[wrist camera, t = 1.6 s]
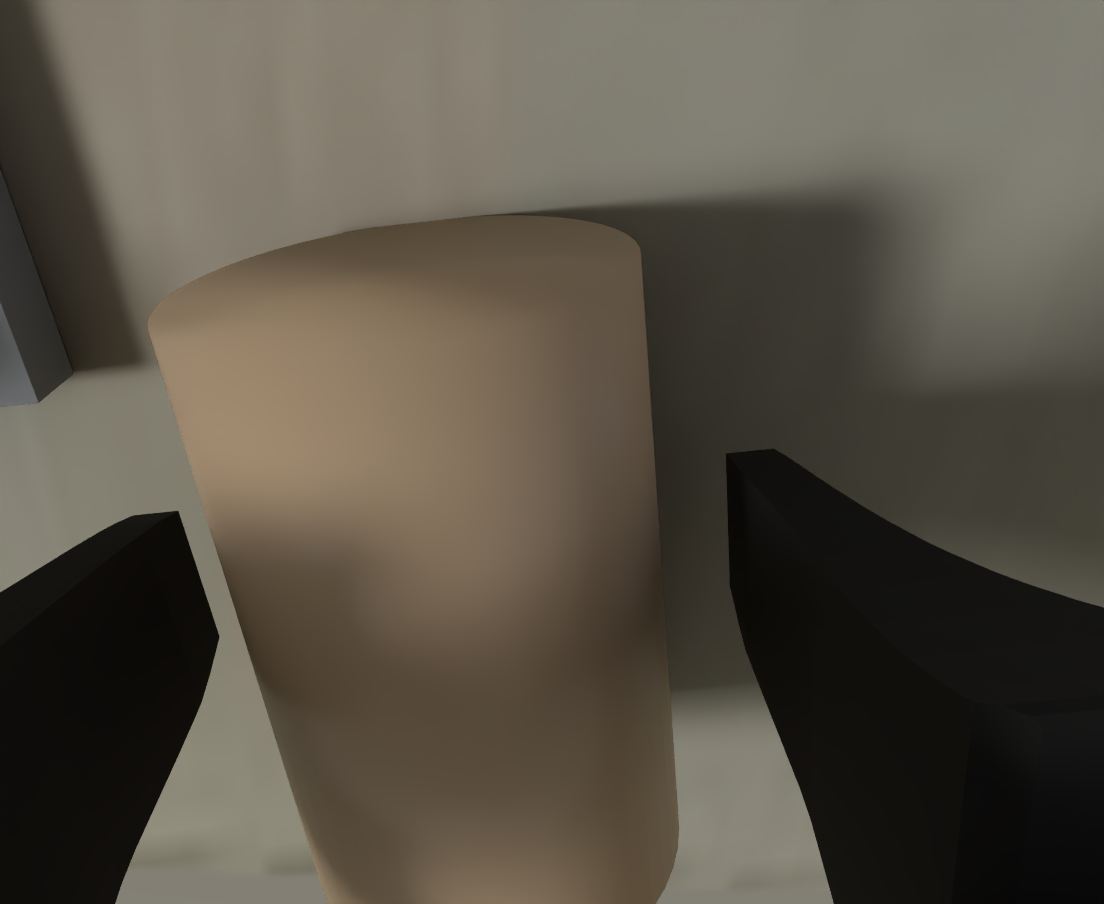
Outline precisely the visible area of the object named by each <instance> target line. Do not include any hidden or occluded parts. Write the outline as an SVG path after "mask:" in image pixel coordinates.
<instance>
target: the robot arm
mask: <svg viewBox="0 0 1104 904" xmlns="http://www.w3.org/2000/svg"><path fill="white" fill-rule="evenodd" d="M726 472H727V504H728V537H729V570H730V588H731V592H732V597H733V601H734V605H735V609H736V614H737V618H738V622H739V626H740V630H741V634H742V638H743V642H744V646H745V649H746V652H747V655H748V657H749V660H750V663H751V665H752V668H753V670H754V673H755V676H756V678H757V681H758V683H759V686H760V688H761V691H762V694H763V696H764V699H765V701H766V704H767V706H768V709H769V711H770V714H771V716H772V719H773V721H774V724H775V726H776V729H777V731H778V734H779V736H780V739H781V741H782V744H783V747H784V749H785V752H786V754H787V757H788V759H789V762H790V764H791V767H792V769H793V772H794V774H795V777H796V779H797V782H798V784H799V787H800V790H801V793H802V796H803V798H804V801H805V804H806V807H807V810H808V813H809V816H810V819H811V822H812V826H813V829H814V833H815V837H816V840H817V844H818V847H819V851H820V855H821V858H822V862H823V866H824V869H825V873H826V877H827V880H828V884H829V887H830V891H831V895H832V899H833V902H834V904H1104V608H1103V607H1099V606H1096V605H1092V604H1089V603H1085V602H1082V601H1078V600H1075V599H1072V598H1069V597H1066V596H1063V595H1060V594H1056V593H1053V592H1050V591H1047V590H1044V589H1041V588H1038V587H1035V586H1032V585H1029V584H1026V583H1023V582H1020V581H1018V580H1015V579H1012V578H1009V577H1007V576H1004V575H1001V574H999V573H996V572H994V571H991V570H989V569H987V568H984V567H982V566H979V565H977V564H975V563H972V562H970V561H968V560H965V559H963V558H961V557H958V556H956V555H954V554H951V553H949V552H947V551H945V550H943V549H941V548H938V547H936V546H934V545H932V544H930V543H928V542H926V541H924V540H922V539H920V538H918V537H917V536H915V535H913V534H911V533H909V532H907V531H905V530H904V529H902V528H900V527H898V526H896V525H894V524H892V523H890V522H889V521H887V520H885V519H883V518H882V517H880V516H878V515H877V514H875V513H873V512H871V511H870V510H868V509H866V508H865V507H863V506H861V505H860V504H858V503H857V502H855V501H853V500H852V499H850V498H849V497H847V496H845V495H844V494H842V493H841V492H839V491H838V490H836V489H835V488H833V487H832V486H830V485H828V484H827V483H825V482H824V481H822V480H821V479H819V478H818V477H816V476H815V475H814V474H812V473H811V472H809V471H808V470H806V469H805V468H803V467H802V466H800V465H799V464H797V463H796V462H794V461H793V460H791V459H790V458H788V457H787V456H785V455H783V454H782V453H780V452H778V451H777V450H775V449H766V450H756V451H747V452H737V453H728V454H726ZM218 641H219V634H218V631H217V628H216V625H215V622H214V619H213V615H212V612H211V609H210V606H209V603H208V600H207V597H206V594H205V591H204V588H203V585H202V582H201V579H200V576H199V573H198V570H197V567H196V564H195V561H194V557H193V554H192V551H191V548H190V545H189V542H188V539H187V536H186V533H185V530H184V527H183V524H182V521H181V518H180V515H179V512H178V511H172V512H163V513H153V514H143V515H134V516H131V517H129V518H126V519H124V520H122V521H120V522H118V523H116V524H114V525H112V526H110V527H108V528H106V529H104V530H102V531H101V532H99V533H97V534H95V535H94V536H92V537H90V538H88V539H87V540H85V541H83V542H82V543H80V544H78V545H77V546H75V547H73V548H72V549H70V550H68V551H67V552H65V553H64V554H62V555H60V556H59V557H57V558H55V559H54V560H52V561H51V562H49V563H47V564H46V565H44V566H42V567H41V568H39V569H38V570H36V571H34V572H33V573H31V574H30V575H28V576H26V577H25V578H23V579H21V580H20V581H18V582H17V583H15V584H13V585H12V586H10V587H8V588H7V589H5V590H4V591H2V592H0V904H115V902H116V899H117V896H118V893H119V890H120V887H121V884H122V881H123V879H124V876H125V874H126V872H127V869H128V867H129V864H130V862H131V859H132V857H133V854H134V852H135V849H136V847H137V845H138V843H139V840H140V838H141V836H142V834H143V832H144V829H145V827H146V825H147V823H148V821H149V819H150V816H151V814H152V812H153V810H154V808H155V805H156V803H157V801H158V799H159V797H160V794H161V792H162V790H163V788H164V786H165V783H166V781H167V779H168V777H169V775H170V773H171V770H172V768H173V766H174V764H175V762H176V759H177V757H178V755H179V753H180V751H181V748H182V746H183V744H184V741H185V739H186V737H187V735H188V732H189V730H190V728H191V726H192V723H193V721H194V719H195V717H196V714H197V712H198V709H199V707H200V705H201V702H202V699H203V696H204V692H205V689H206V686H207V682H208V679H209V676H210V672H211V668H212V664H213V660H214V656H215V653H216V649H217V645H218Z"/></svg>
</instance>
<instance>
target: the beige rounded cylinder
mask: <svg viewBox="0 0 1104 904" xmlns="http://www.w3.org/2000/svg"><path fill="white" fill-rule="evenodd" d="M148 332H149V335H150V338H151V341H152V344H153V348H154V351H155V354H156V357H157V360H158V364H159V367H160V370H161V373H162V376H163V380H164V383H165V386H166V389H167V392H168V396H169V399H170V402H171V405H172V408H173V412H174V415H175V418H176V421H177V424H178V428H179V431H180V434H181V437H182V441H183V444H184V447H185V450H186V453H187V457H188V460H189V463H190V466H191V469H192V473H193V476H194V479H195V482H196V485H197V489H198V492H199V495H200V498H201V501H202V505H203V508H204V511H205V514H206V517H207V521H208V524H209V527H210V530H211V533H212V537H213V540H214V543H215V546H216V550H217V553H218V556H219V559H220V562H221V566H222V569H223V572H224V575H225V578H226V582H227V585H228V588H229V591H230V594H231V598H232V601H233V604H234V607H235V610H236V614H237V617H238V620H239V623H240V626H241V630H242V633H243V636H244V639H245V642H246V646H247V649H248V652H249V655H250V658H251V662H252V665H253V668H254V671H255V675H256V678H257V681H258V684H259V687H260V691H261V694H262V697H263V700H264V703H265V707H266V710H267V713H268V716H269V719H270V723H271V726H272V729H273V732H274V735H275V739H276V742H277V745H278V748H279V751H280V755H281V758H282V761H283V764H284V767H285V771H286V774H287V777H288V780H289V784H290V787H291V790H292V793H293V796H294V800H295V803H296V806H297V809H298V812H299V816H300V819H301V822H302V825H303V828H304V832H305V835H306V838H307V841H308V844H309V848H310V851H311V854H312V857H313V860H314V864H315V867H316V870H317V873H318V876H319V880H320V883H321V886H322V889H323V892H324V896H325V899H326V902H327V904H656V902H657V900H658V899H659V897H660V896H661V894H662V892H663V890H664V889H665V887H666V884H667V882H668V879H669V877H670V874H671V872H672V869H673V866H674V862H675V857H676V853H677V849H678V837H679V820H678V804H677V789H676V774H675V759H674V744H673V729H672V714H671V699H670V684H669V669H668V654H667V639H666V624H665V609H664V593H663V578H662V563H661V548H660V533H659V518H658V503H657V488H656V473H655V458H654V443H653V428H652V413H651V398H650V382H649V367H648V352H647V337H646V322H645V307H644V292H643V277H642V262H641V252H640V247H639V245H638V244H637V243H636V241H635V240H634V239H633V238H631V237H630V236H629V235H627V234H626V233H624V232H622V231H619V230H617V229H615V228H612V227H609V226H606V225H602V224H599V223H594V222H589V221H584V220H578V219H570V218H562V217H550V216H528V215H495V216H472V217H463V218H454V219H445V220H437V221H428V222H419V223H410V224H401V225H392V226H383V227H374V228H369V229H363V230H358V231H352V232H347V233H342V234H337V235H333V236H328V237H323V238H319V239H315V240H311V241H306V242H302V243H298V244H294V245H291V246H287V247H284V248H280V249H276V250H273V251H270V252H266V253H263V254H260V255H257V256H254V257H250V258H248V259H245V260H242V261H239V262H236V263H234V264H231V265H228V266H226V267H223V268H221V269H219V270H216V271H214V272H211V273H209V274H207V275H205V276H203V277H201V278H198V279H196V280H194V281H192V282H190V283H189V284H187V285H185V286H183V287H182V288H180V289H178V290H177V291H175V292H174V293H172V294H171V295H170V296H168V297H167V298H166V299H164V300H163V301H162V302H161V303H160V304H159V305H158V306H157V307H156V308H155V309H154V310H153V312H152V314H151V315H150V317H149V319H148Z"/></svg>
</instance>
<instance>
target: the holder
mask: <svg viewBox="0 0 1104 904" xmlns="http://www.w3.org/2000/svg"><path fill="white" fill-rule="evenodd" d="M72 374H73V371H72V368H71V365H70V362H69V360H68V357H67V354H66V351H65V348H64V346H63V343H62V340H61V337H60V334H59V332H58V329H57V326H56V323H55V320H54V318H53V315H52V312H51V309H50V306H49V304H48V301H47V298H46V295H45V292H44V290H43V287H42V284H41V281H40V278H39V276H38V273H37V270H36V267H35V264H34V262H33V259H32V256H31V253H30V251H29V248H28V245H27V242H26V239H25V237H24V234H23V231H22V228H21V225H20V223H19V220H18V217H17V214H16V211H15V209H14V206H13V203H12V200H11V197H10V195H9V192H8V189H7V186H6V183H5V181H4V178H3V175H2V172H1V169H0V407H6V406H15V405H24V404H33V403H39V402H40V401H41V400H43V399H44V398H45V397H46V396H47V395H49V394H50V393H51V392H52V391H53V390H55V389H56V388H57V387H58V386H59V385H61V384H62V383H63V382H64V381H65V380H67V379H68V378H69V377H70V376H71V375H72Z"/></svg>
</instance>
